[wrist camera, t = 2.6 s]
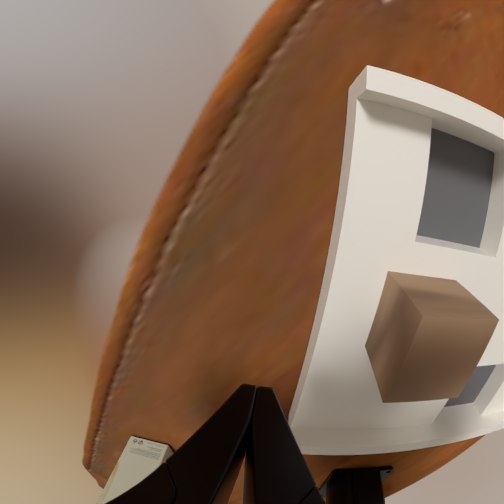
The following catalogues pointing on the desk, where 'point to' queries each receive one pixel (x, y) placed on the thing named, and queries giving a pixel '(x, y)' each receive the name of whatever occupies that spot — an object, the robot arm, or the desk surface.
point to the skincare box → (134, 466)
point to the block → (426, 338)
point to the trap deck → (405, 263)
